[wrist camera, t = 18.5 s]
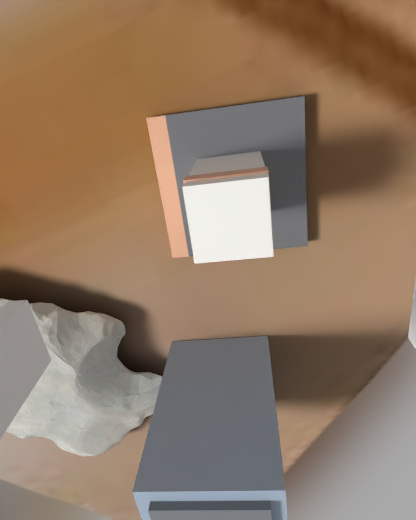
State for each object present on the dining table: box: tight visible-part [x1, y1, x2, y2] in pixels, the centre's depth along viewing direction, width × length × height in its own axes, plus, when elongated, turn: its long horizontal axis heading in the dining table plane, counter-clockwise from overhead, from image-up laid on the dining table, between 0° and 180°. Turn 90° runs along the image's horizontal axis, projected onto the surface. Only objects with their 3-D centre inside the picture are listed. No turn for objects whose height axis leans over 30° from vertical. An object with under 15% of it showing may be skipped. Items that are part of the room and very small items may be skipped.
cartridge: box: [182, 151, 274, 263], centre depth 27 cm, size 5×5×9 cm
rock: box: [0, 298, 163, 456], centre depth 38 cm, size 19×7×25 cm
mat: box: [146, 96, 308, 258], centre depth 31 cm, size 12×12×1 cm
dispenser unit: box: [133, 336, 287, 520], centre depth 33 cm, size 10×10×17 cm
